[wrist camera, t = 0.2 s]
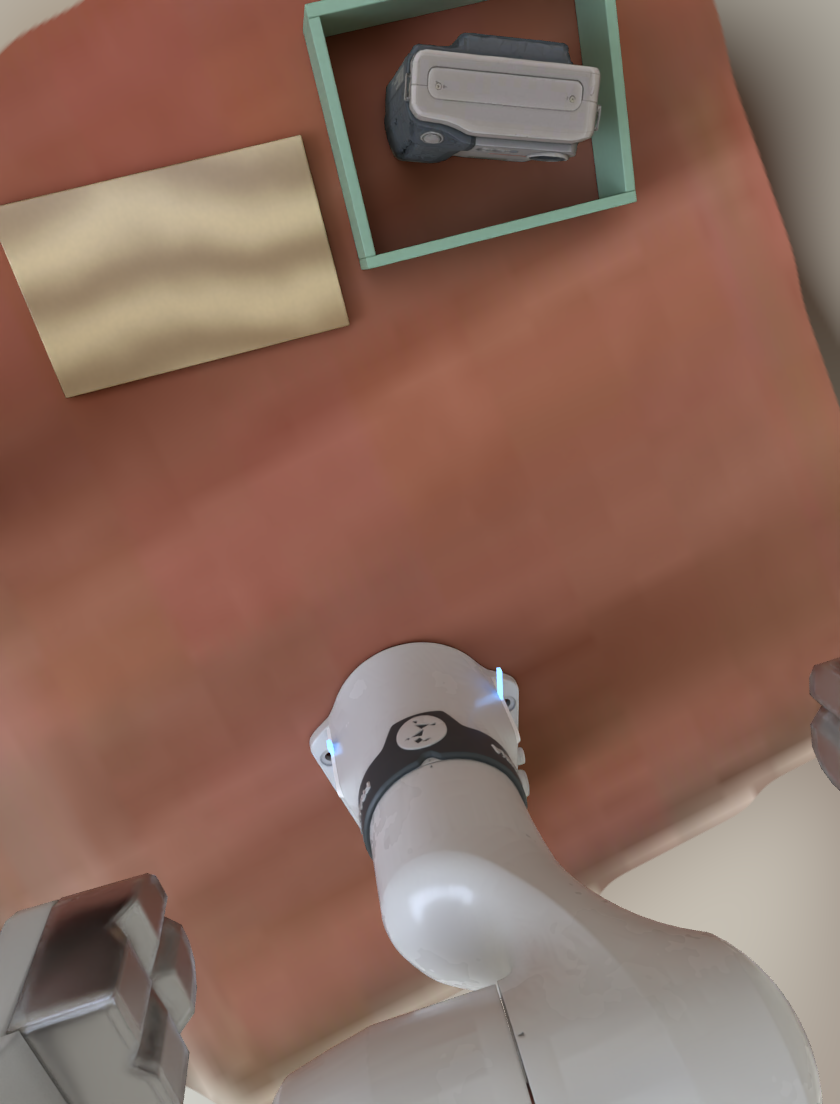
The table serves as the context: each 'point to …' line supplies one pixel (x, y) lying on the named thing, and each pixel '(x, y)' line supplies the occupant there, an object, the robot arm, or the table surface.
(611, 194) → the bin
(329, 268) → the board
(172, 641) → the table surface
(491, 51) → the camera
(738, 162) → the table surface
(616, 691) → the table surface
